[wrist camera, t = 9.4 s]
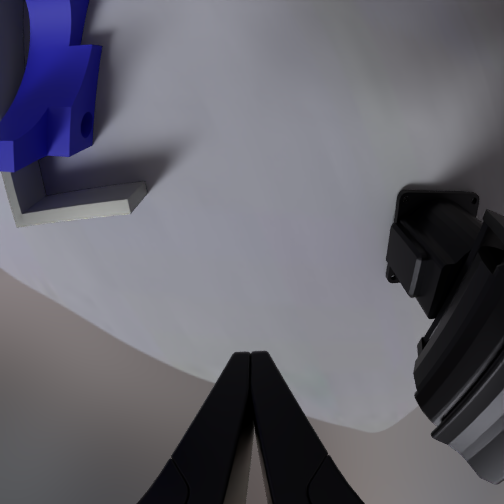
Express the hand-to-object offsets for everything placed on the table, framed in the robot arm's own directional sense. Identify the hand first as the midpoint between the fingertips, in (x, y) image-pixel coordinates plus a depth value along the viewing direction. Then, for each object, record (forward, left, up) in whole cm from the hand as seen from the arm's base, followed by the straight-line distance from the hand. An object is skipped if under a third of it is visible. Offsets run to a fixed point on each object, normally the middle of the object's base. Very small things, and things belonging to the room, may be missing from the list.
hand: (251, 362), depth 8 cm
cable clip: (+10, -10, -12) cm, 19 cm away
